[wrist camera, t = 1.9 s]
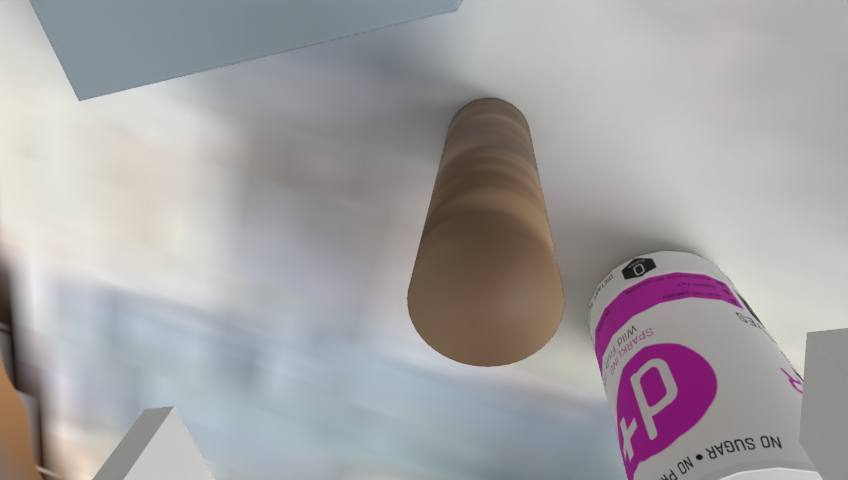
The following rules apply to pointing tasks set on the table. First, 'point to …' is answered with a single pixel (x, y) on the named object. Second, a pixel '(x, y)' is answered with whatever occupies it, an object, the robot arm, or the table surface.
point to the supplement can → (694, 375)
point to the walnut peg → (486, 245)
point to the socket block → (200, 33)
